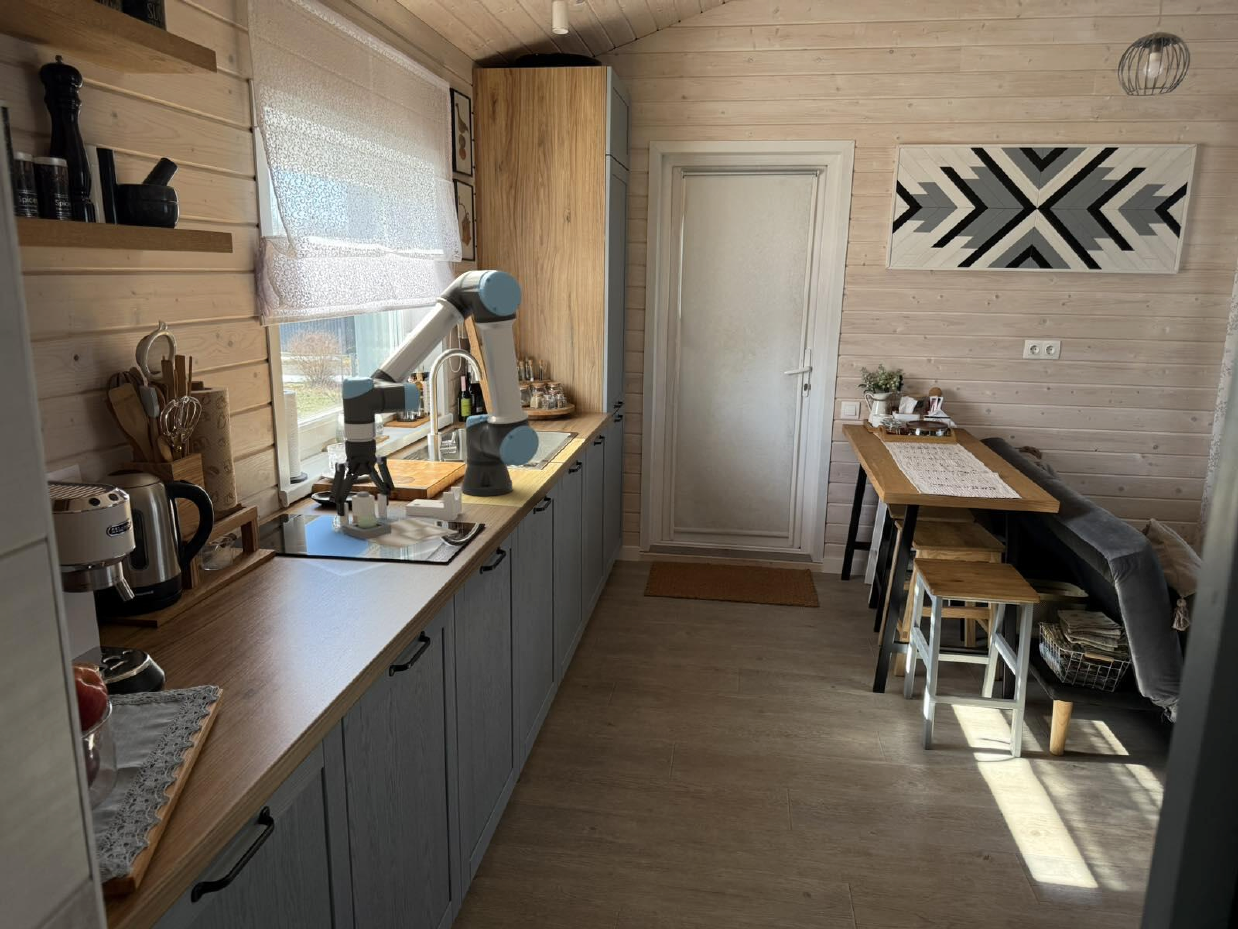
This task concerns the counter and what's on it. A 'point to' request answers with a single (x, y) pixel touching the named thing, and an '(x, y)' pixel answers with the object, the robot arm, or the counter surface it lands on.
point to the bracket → (438, 506)
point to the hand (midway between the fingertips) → (364, 523)
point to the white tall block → (363, 505)
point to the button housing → (367, 530)
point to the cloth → (410, 533)
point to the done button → (367, 521)
